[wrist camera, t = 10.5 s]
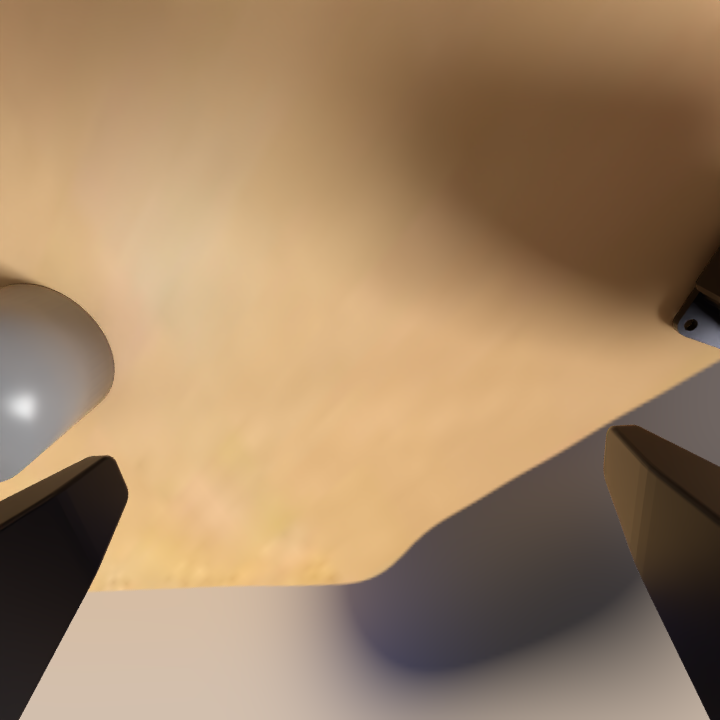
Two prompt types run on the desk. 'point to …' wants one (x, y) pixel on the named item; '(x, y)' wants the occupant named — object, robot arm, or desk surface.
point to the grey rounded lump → (46, 371)
